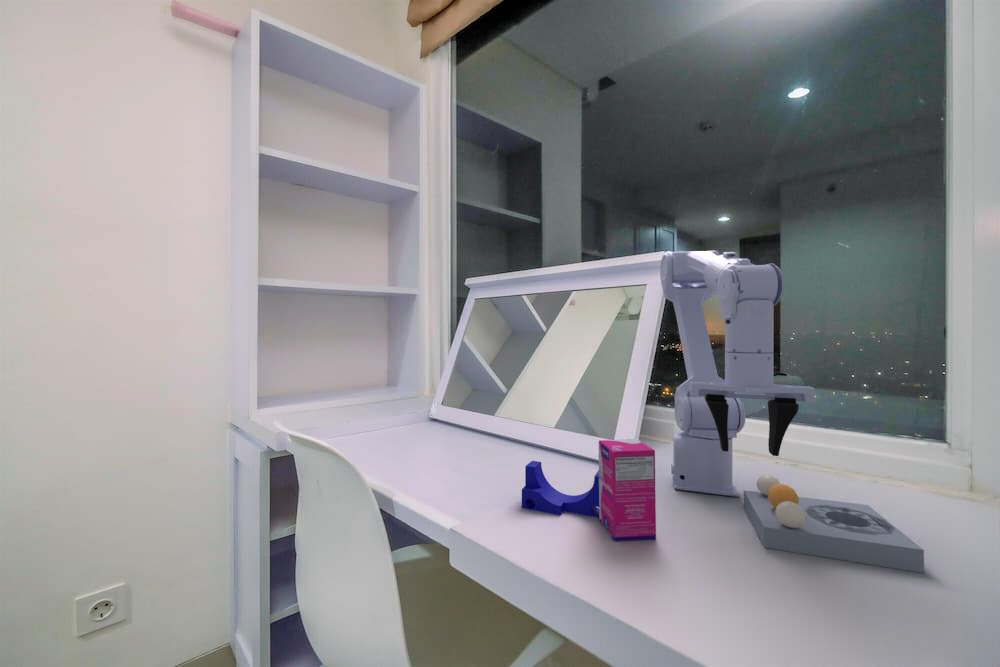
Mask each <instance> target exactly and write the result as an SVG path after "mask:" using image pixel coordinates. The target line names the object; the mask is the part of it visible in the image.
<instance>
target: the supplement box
mask: <svg viewBox="0 0 1000 667" xmlns="http://www.w3.org/2000/svg"><path fill="white" fill-rule="evenodd" d="M598 470H599V507H598V508H599V522H600V523H601V525H603V527H604V528H605V530H606V532H607V533H608V534H609V535H610V537H611V539H612V540H613V541H614V542H627V541H629V542H630V541H649V540H650V541H651V540H653V541H655V540H657V508H656V507H657V504H656V503H657V502H656V498H657V496H656V494H657V493H656V451H655V449H654V448H652V447H650V446H648V445H647V444H646V443H644V442H643V441H641V440H640V439H637V438H623V439H622V438H621V439H600V440H598Z"/></svg>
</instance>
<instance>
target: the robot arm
mask: <svg viewBox="0 0 1000 667" xmlns="http://www.w3.org/2000/svg"><path fill="white" fill-rule="evenodd" d="M737 256H738V253H737V252H734V251H724V252H723V253H722V254H720V252H719V251H718V250H715V249H714V250H705V251H704V250H701V251H700V250H699V251H698V250H694V251H689V250H688V251H669V250H668V251H665V252H664V254H663V255H662V256H661V257H662V258H661V260H660V268H659V269H660V271H659V275H660V276H659V277H660V283H661V288H662V289H661V290H662V292H663V295H664V298H665V299H667V300H668V301H670V302H672V305H673V308H674V309H673V310H674V313H675V317H676V322H677V328H678V332H679V340H680V345H681V349H682V353H683V359H684V365H685V371H686V375H687V379H686V380H685V381H684V382H683V383H681V384H680V385H678V387H677V389H676V390H675V393H674V395H673V396H674V397H673V398H674V418H675V422H676V425H677V427H678V428H679V430H680V431H681V432H680V431H679V432H678V431H677V432H676V431H675V432H673V434H672V435H673V436H672V438H673V439H672V463H671V465H670V468H671V472H670V473H671V475H672V478H673V488H674V489H675V490H678V491H679V490H681V491H689V492H697V493H705V494H713V495H721V496H728V497H729V496H730V497H735V498H736V497H739V494H740V493H739V492H738V490H737V488H736V486H735V484H734V481H733V438H734V439H736V438H737V434H739V433H740V432H741V431H742V429H744V426H745V424H746V410H745V406H744V403H743V402H742V400H741V399H744V400H746V399H748V400H768V401H767V409H768V410H767V411H768V423H769V424H768V425H769V427H768V428H769V429H768V453H769V454H770V455H771V456H774V457H779V456H780V450H781V446H782V443H783V439H784V438H785V437H784V436H785V434H786V432H787V431H788V428H789V426H790V424H791V423H792V421H793V419H794V418H795V416H796V415H797V413H798V411H799V407H800V405H799V404H798V403H797V402H803V403H811V404H812V403H815V402H816V401H815V400H816V399H815V396H816V395H815V393H816V392H815V387H812V386H808V385H806V386H805V385H792V384H791V385H790V384H777V383H776V384H775V383H774V373H775V372H774V364H775V363H774V361H775V360H774V357H775V356H774V352H775V351H774V346H775V345H774V340H775V339H774V335H775V334H774V332H775V331H774V329H775V328H774V327H775V326H774V321H775V320H774V316H775V314H774V313H775V312H774V308H775V307H774V306H776V305H777V304H778V303H779V302H780V301H781V298H782V295H783V291H784V286H785V284H784V275H783V272H782V270H781V268H779V267H778V266H777V265H776V264H775V263H773V262H771V263H767V264H759V265H758V264H757V265H756V264H754V263H752V262H751V260H750V259H749V258H739V257H737ZM714 291H715V292H717V297H718V298H717V300H718V302H719V304H720V315H721V319H723V320H724V379H723V378H721V377H720V376H719V374H718V371H717V366H716V363H715V362H716V361H715V358H714V354H713V349H712V345H711V344H712V343H711V341H710V336H709V332H708V327H707V323H706V318H705V313H704V309H703V303H704V302H706V301H707V300H709V299H711V298H713V295H714ZM740 393H741V394H740ZM744 393H747V394H744ZM764 394H765V395H764Z"/></svg>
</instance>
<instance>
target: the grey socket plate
mask: <svg viewBox="0 0 1000 667" xmlns="http://www.w3.org/2000/svg"><path fill="white" fill-rule="evenodd" d="M798 499H799V502H798V505H799V506H800V507H801V508H802V509H803V511H804V513H805V516H806V519H805V522H804V524H803V525H802V526H800V527H798V528H790V527H787V526H785V525H783V524H782V523H781V522H780V521H779V520H778V518H777V516H776V508H775V507H774V506H772V504H771V503H770V501H769V499H768V496H766V495H764V494H762V493H761V492H760V491H753V490H752V491H751V490H746V489H745V490H744V489H743V509H744V510H745V513H746V515H747V516H748V517H747V518H748V519H749V521H750V523H751V524H752V526H753V528H754V530H755V532H756V534H757V537H758V539H759V541H760V542H761V544H762V546H763V548H765V549H770V550H771V549H772V550H778V551H783V552H790V553H796V554H802V555H808V556H809V555H811V556H816V557H822V558H827V559H835V560H840V561H845V562H847V561H848V562H853V563H859V564H866V565H872V566H877V567H878V566H879V567H882V568H883V567H885V568H891V569H896V570H902V571H909V572H916V573H921V574H924V573H925V550H924V549H923V548H922V547H921V546H919V545H918V544H917V543H916V542H915V541H913V539H911V538H910V537H909V536H907V535H906V534H905V533H904V532H902V531H901V530H899V529H898V528H897V527H896V526H894V525H893V524H892V523H891V522H890V521H888V520H887V519H886V518H885V517H883V516H882V515H881V514H880V513H878V511H876V510H874V509H873V508H872V507H871V506H870V505H868V504H862V503H854V502H847V501H838V500H828V499H821V498H812V497H803V496H798Z"/></svg>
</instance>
